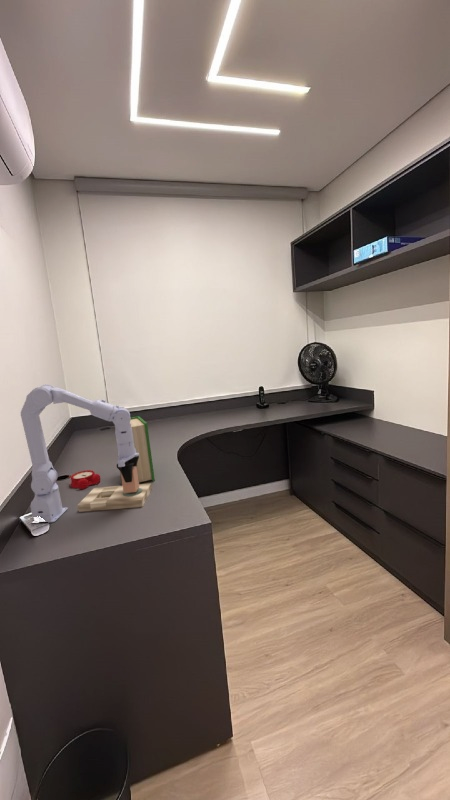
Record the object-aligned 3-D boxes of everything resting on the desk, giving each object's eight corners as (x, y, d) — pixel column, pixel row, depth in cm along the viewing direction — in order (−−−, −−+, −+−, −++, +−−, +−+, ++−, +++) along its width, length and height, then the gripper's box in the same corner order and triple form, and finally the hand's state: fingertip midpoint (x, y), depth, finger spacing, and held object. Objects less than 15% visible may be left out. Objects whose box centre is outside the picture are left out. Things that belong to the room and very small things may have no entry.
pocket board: (142, 506, 117) (141, 499, 116) (78, 511, 118) (77, 504, 117) (151, 489, 131) (151, 483, 130) (95, 494, 132) (93, 487, 131)
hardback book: (154, 480, 139) (146, 422, 135) (136, 485, 136) (127, 426, 133) (146, 468, 155) (139, 416, 151) (129, 472, 152) (121, 419, 149)
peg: (136, 492, 121) (132, 470, 120) (123, 493, 121) (120, 471, 120) (139, 486, 126) (136, 465, 124) (127, 487, 126) (124, 466, 124)
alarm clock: (87, 468, 152) (103, 466, 142) (91, 482, 152) (107, 481, 142) (63, 476, 144) (78, 475, 134) (67, 491, 144) (82, 491, 134)
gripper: (130, 447, 113) (136, 486, 115) (142, 435, 128) (146, 470, 130) (109, 449, 114) (115, 488, 116) (123, 437, 128) (128, 472, 130)
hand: (130, 479), depth 123 cm, fingers closed on peg, 4 cm apart
